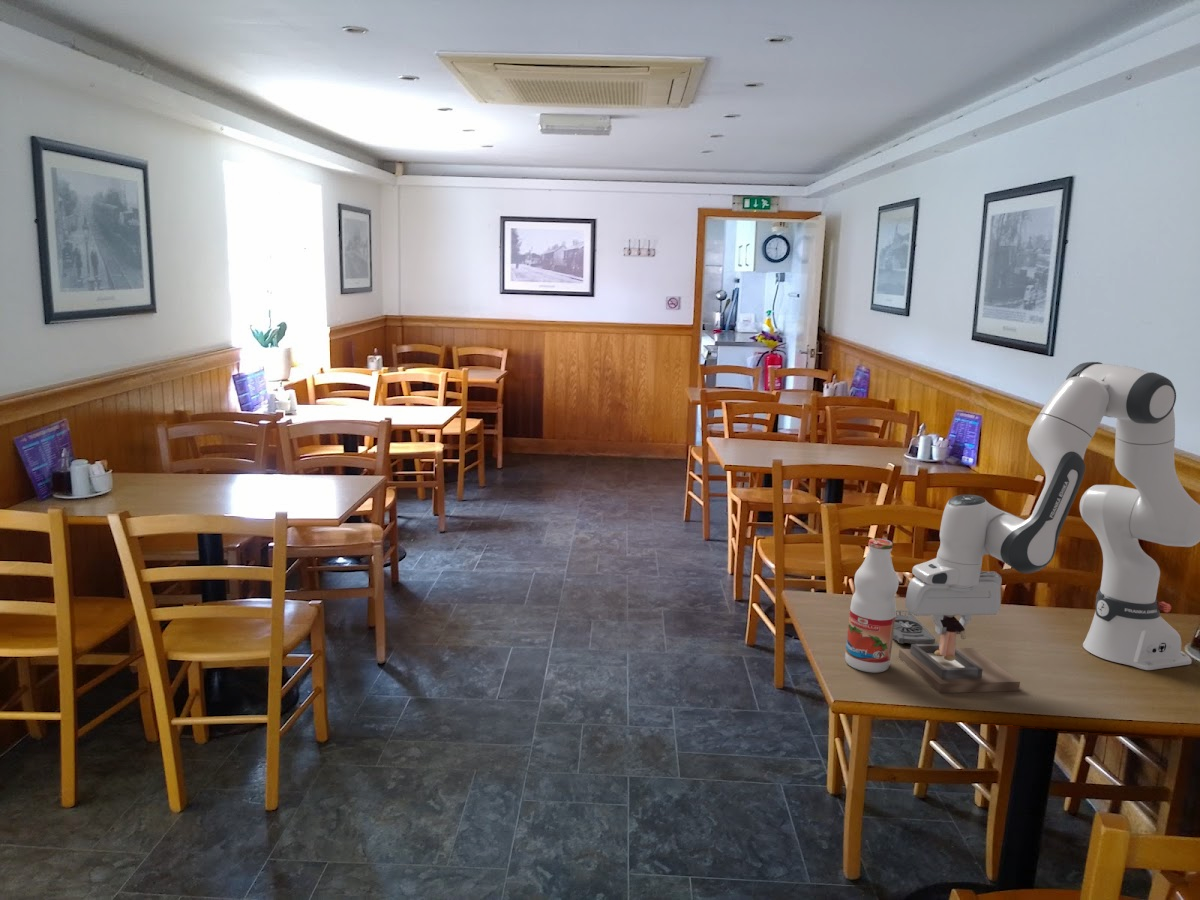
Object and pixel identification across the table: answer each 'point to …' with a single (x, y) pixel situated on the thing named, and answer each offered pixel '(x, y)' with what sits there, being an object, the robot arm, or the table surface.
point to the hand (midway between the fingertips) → (949, 633)
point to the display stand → (957, 670)
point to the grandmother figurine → (949, 637)
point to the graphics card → (910, 630)
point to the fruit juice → (873, 610)
